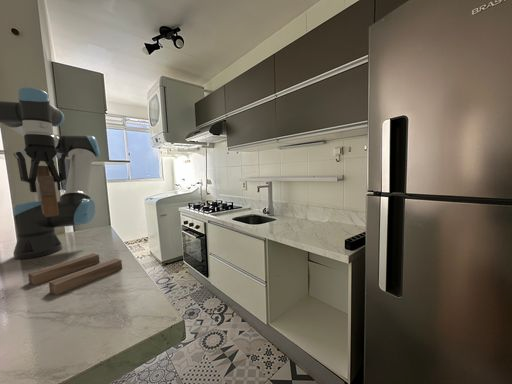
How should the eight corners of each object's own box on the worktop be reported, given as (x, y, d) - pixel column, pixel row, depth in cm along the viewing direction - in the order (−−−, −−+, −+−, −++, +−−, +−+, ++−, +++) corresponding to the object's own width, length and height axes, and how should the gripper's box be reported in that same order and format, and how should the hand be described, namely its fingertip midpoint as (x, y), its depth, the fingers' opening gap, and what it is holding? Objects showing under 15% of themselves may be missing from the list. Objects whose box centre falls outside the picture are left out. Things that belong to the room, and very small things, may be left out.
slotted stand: (29, 282, 67) (28, 273, 67) (93, 260, 83) (92, 253, 83) (56, 295, 59) (55, 284, 59) (122, 268, 75) (121, 259, 75)
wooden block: (45, 217, 74) (36, 164, 72) (42, 214, 81) (34, 166, 79) (59, 215, 77) (51, 164, 75) (55, 212, 84) (48, 165, 82)
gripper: (7, 129, 67) (17, 204, 69) (73, 137, 83) (80, 197, 85) (-2, 132, 71) (8, 203, 73) (64, 139, 86) (71, 197, 88)
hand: (47, 200), depth 79 cm, fingers closed on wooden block, 4 cm apart
